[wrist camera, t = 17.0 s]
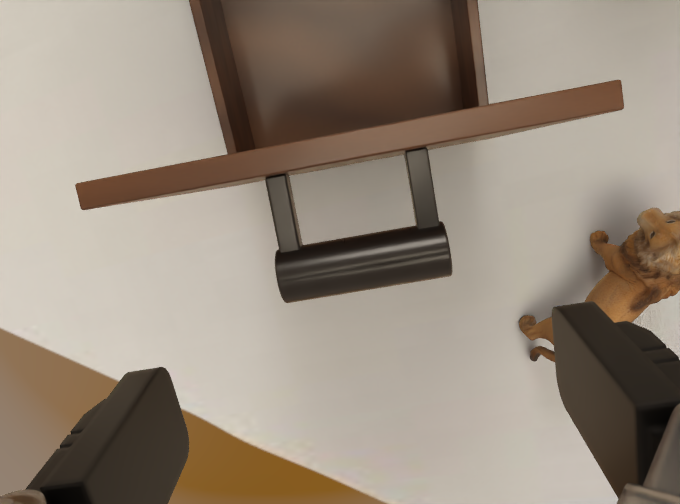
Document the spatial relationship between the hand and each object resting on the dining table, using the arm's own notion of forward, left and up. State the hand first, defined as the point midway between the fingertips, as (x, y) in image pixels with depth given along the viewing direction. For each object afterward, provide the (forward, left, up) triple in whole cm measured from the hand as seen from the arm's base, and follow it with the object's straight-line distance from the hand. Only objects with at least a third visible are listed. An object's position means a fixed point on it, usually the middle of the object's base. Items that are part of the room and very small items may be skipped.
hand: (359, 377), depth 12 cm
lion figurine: (+12, +15, -30) cm, 36 cm away
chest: (-9, 0, -30) cm, 31 cm away
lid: (-3, 0, -15) cm, 15 cm away
